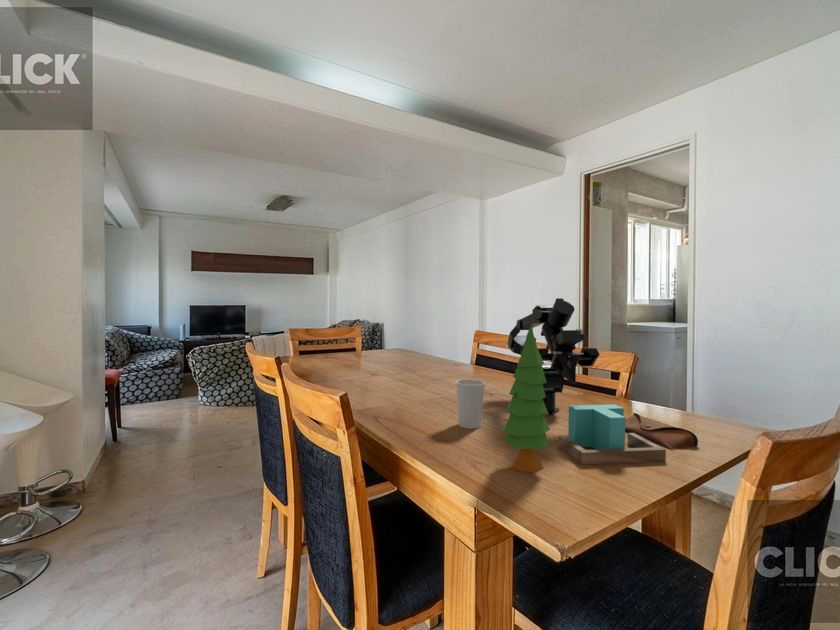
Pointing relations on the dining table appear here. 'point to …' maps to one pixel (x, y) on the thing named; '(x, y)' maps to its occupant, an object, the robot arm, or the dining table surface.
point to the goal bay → (615, 451)
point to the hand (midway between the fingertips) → (573, 382)
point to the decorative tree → (527, 408)
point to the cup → (470, 402)
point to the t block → (597, 426)
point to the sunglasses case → (660, 432)
